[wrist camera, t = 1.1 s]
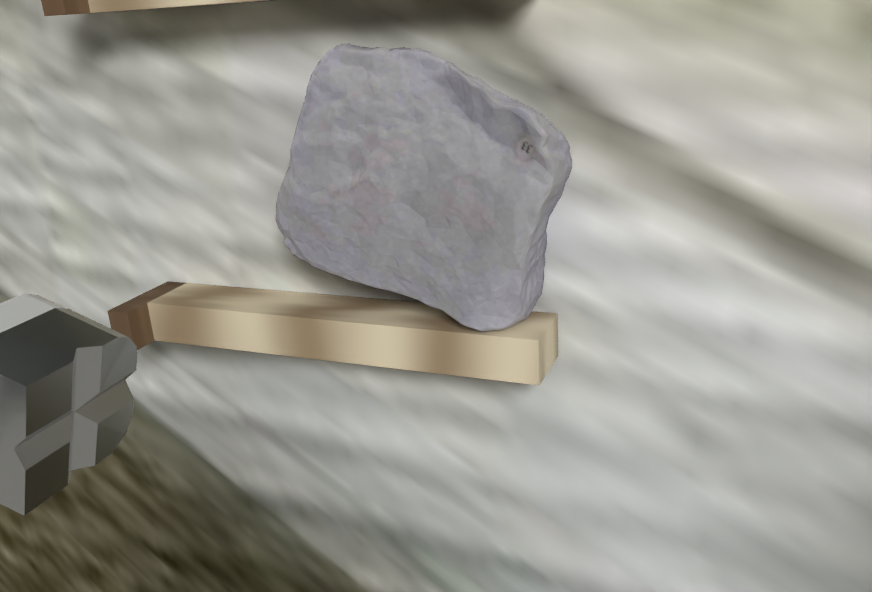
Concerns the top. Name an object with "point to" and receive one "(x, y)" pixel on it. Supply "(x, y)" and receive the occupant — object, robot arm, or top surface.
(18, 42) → the top surface
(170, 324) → the twin tan bars
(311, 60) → the top surface
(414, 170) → the stone block
